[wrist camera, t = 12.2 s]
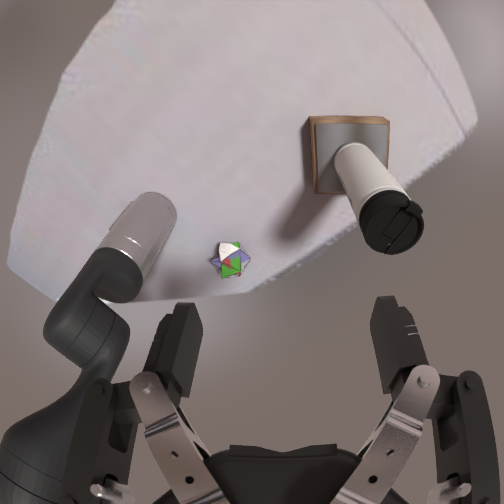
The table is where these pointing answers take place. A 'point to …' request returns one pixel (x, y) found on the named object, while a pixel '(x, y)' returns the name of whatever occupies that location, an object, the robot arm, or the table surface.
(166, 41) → the table surface
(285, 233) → the table surface
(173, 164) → the table surface
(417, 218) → the travel mug
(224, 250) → the geometric puzzle
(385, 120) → the square wooden framed mirror
